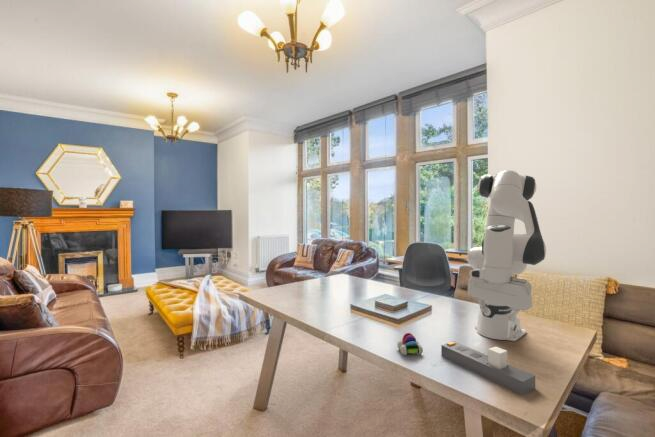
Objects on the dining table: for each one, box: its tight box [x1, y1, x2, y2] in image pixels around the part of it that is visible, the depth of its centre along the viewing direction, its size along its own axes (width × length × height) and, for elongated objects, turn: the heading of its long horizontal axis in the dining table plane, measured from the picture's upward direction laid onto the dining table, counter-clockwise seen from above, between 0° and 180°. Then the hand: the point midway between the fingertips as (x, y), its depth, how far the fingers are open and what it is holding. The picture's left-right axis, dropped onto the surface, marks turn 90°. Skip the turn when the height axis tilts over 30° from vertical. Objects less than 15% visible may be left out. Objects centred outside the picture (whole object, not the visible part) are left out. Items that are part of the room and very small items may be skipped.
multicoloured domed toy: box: [397, 332, 424, 356], centre depth 127 cm, size 8×10×7 cm
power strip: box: [440, 340, 536, 396], centre depth 111 cm, size 7×30×6 cm, turn 30°
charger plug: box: [487, 345, 508, 370], centre depth 106 cm, size 4×4×9 cm
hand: (497, 316), depth 106 cm, fingers open, 8 cm apart
